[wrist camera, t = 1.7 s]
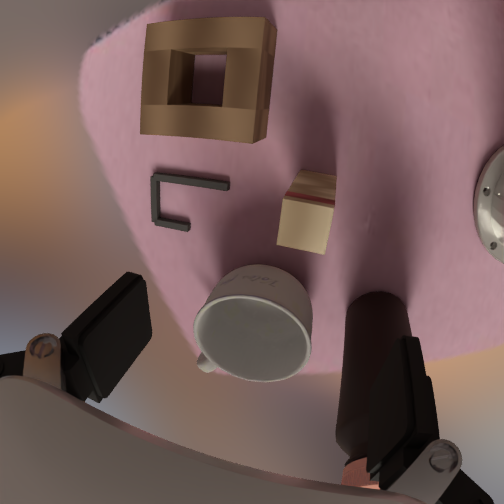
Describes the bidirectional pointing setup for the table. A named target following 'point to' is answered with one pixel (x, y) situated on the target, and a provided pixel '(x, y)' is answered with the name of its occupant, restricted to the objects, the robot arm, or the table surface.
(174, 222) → the dark gray angular bracket
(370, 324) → the bottle
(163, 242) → the table surface
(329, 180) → the red striped block
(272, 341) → the teacup
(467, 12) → the table surface
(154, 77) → the wooden square socket block
